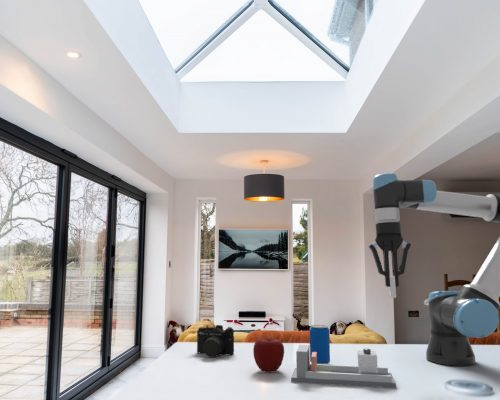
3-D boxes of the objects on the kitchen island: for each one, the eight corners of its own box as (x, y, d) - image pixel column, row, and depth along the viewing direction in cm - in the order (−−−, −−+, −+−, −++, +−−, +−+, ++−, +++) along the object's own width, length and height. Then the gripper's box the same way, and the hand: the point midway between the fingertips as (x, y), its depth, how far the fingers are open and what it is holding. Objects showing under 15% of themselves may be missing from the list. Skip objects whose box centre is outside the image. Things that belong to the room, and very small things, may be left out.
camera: (188, 357, 153) (188, 327, 154) (200, 351, 163) (200, 323, 164) (225, 359, 149) (225, 329, 150) (235, 353, 159) (235, 325, 160)
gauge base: (391, 377, 127) (390, 348, 128) (396, 388, 116) (394, 356, 117) (295, 372, 132) (294, 344, 134) (291, 382, 122) (290, 351, 123)
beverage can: (329, 366, 139) (329, 327, 141) (309, 365, 141) (308, 327, 142) (330, 361, 146) (329, 324, 147) (310, 360, 147) (310, 324, 149)
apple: (274, 377, 127) (274, 341, 128) (247, 372, 132) (247, 338, 133) (289, 370, 135) (289, 336, 136) (263, 366, 140) (262, 333, 141)
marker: (316, 369, 129) (316, 352, 130) (315, 375, 123) (315, 356, 124) (312, 369, 129) (312, 351, 130) (311, 374, 123) (311, 356, 124)
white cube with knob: (376, 373, 125) (375, 347, 126) (377, 378, 120) (376, 351, 121) (358, 372, 126) (357, 347, 127) (359, 377, 121) (358, 350, 122)
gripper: (406, 222, 142) (411, 296, 139) (365, 223, 144) (369, 296, 141) (411, 220, 135) (417, 298, 132) (368, 222, 137) (373, 298, 133)
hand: (392, 297), depth 136 cm, fingers closed
